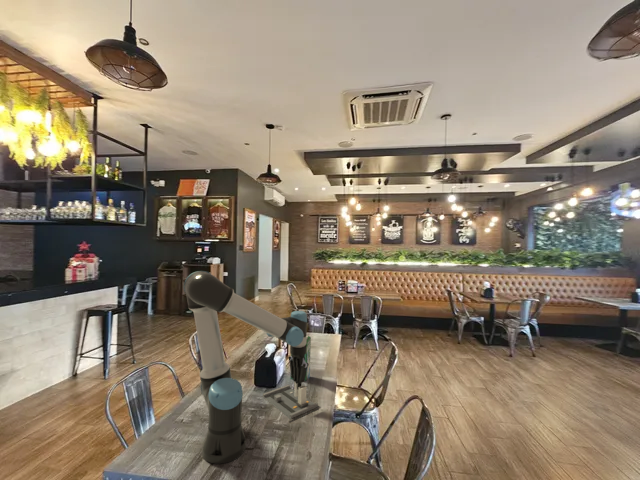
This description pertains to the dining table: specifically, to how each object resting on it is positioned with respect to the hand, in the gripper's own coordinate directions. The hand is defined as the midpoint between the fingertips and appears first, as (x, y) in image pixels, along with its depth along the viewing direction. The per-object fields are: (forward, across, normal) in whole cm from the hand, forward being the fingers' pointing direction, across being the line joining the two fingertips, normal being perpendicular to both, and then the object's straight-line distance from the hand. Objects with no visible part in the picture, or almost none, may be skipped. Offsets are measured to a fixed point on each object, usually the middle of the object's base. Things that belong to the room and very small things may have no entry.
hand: (297, 395), depth 138 cm
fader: (+3, -4, 0) cm, 5 cm away
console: (+5, +3, +2) cm, 6 cm away
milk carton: (+5, +21, -18) cm, 28 cm away
